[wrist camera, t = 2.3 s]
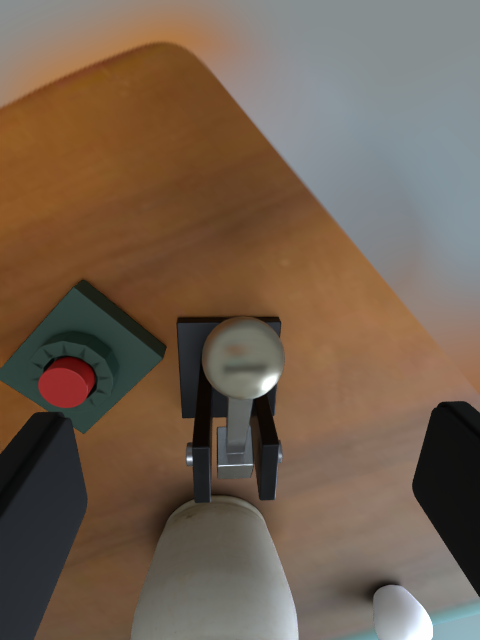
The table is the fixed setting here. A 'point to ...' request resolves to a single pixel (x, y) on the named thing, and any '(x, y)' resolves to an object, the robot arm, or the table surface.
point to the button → (66, 382)
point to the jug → (215, 578)
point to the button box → (85, 353)
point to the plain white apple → (399, 615)
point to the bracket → (222, 412)
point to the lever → (240, 384)
